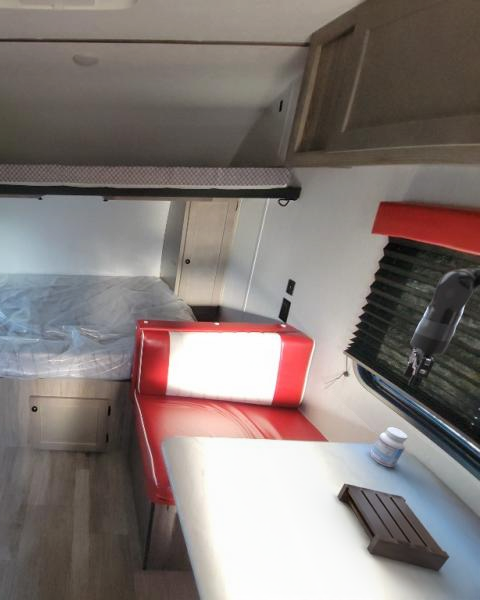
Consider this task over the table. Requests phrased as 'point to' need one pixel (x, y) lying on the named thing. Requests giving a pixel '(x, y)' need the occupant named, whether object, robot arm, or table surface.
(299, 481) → the table surface
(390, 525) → the rack
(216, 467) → the table surface
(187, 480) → the table surface
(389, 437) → the pill bottle
